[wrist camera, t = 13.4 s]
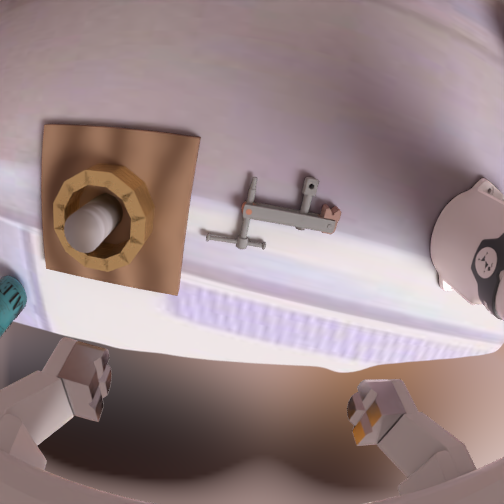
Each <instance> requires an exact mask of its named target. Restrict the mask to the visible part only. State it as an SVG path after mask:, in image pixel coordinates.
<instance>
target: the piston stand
mask: <svg viewBox="0 0 504 504" xmlns="http://www.w3.org/2000/svg"><path fill="white" fill-rule="evenodd" d="M200 138H201V137H195V136H188V135H181V134H173V133H166V132H158V131H149V130H140V129H130V128H118V127H106V126H91V125H71V124H46V125H44V134H43V148H42V174H41V200H42V226H43V241H44V252H45V262H46V269H50V270H54V271H59V272H63V273H67V274H72V275H76V276H81V277H85V278H90V279H94V280H99V281H104V282H109V283H113V284H118V285H123V286H128V287H133V288H138V289H144V290H149V291H154V292H160V293H165V294H171V295H176V296H177V295H178V292H179V286H180V276H181V267H182V259H183V250H184V242H185V235H186V227H187V220H188V213H189V206H190V199H191V192H192V186H193V179H194V173H195V167H196V161H197V155H198V150H199V144H200ZM99 163H104V164H113V165H121V166H125V167H126V168H128V169H129V170H130V171H131V172H133V173H134V174H135V175H136V176H138V177H139V178H140V179H141V180H143V181H144V182H145V184H146V187H147V189H148V191H149V194H150V196H151V198H152V201H153V203H154V205H155V211H154V221H153V231H152V233H151V234H150V236H149V237H148V239H147V240H146V242H145V244H144V245H143V246H142V248H141V249H140V250H139V252H138V253H137V255H136V256H135V257H134V259H133V260H132V262H131V263H130V264H129V265H126V266H123V267H120V268H117V269H115V270H112V271H109V272H106V271H101V270H97V269H92V268H87V267H84V266H83V265H82V264H80V263H79V262H78V261H77V260H75V259H74V258H73V257H72V256H70V255H69V254H68V253H67V252H66V251H65V250H64V248H63V246H62V244H61V242H60V240H59V238H58V236H57V234H56V232H55V230H54V218H53V203H54V201H55V199H56V197H57V195H58V193H59V191H60V189H61V187H62V185H63V183H64V181H66V180H68V179H70V178H71V177H73V176H75V175H77V174H79V173H80V172H82V171H84V170H86V169H88V168H90V167H93V166H95V165H97V164H99ZM130 231H131V218H130V216H129V213H128V211H127V209H126V207H125V204H124V202H123V200H122V199H121V198H119V197H118V196H117V195H116V194H114V193H113V192H112V191H110V190H109V189H108V188H107V187H101V186H93V185H87V186H86V188H85V190H84V192H83V193H82V195H81V197H80V202H79V209H78V210H77V211H76V212H74V213H73V214H72V215H70V216H69V217H68V218H67V220H66V222H65V225H64V233H65V237H66V239H67V241H68V243H69V244H70V245H71V247H73V248H74V249H75V250H77V251H79V252H82V253H89V252H92V251H94V250H95V249H96V248H97V247H98V246H99V245H100V244H101V242H104V243H109V244H115V245H117V244H119V243H122V242H124V241H127V240H129V239H130Z"/></svg>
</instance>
